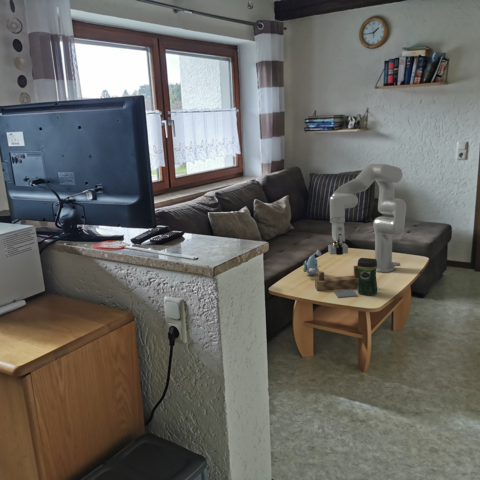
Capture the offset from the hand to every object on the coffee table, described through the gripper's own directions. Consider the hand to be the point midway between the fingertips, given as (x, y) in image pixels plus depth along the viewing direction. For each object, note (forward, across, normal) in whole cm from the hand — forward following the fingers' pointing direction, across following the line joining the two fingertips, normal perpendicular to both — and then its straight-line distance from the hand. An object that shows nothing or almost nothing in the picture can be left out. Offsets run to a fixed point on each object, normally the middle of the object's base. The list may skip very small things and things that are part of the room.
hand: (338, 252), depth 257 cm
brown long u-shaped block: (+19, 0, -1) cm, 19 cm away
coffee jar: (+20, -12, -12) cm, 26 cm away
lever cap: (0, 0, 0) cm, 0 cm away
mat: (+19, -10, -1) cm, 22 cm away
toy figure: (+20, +25, +9) cm, 33 cm away
